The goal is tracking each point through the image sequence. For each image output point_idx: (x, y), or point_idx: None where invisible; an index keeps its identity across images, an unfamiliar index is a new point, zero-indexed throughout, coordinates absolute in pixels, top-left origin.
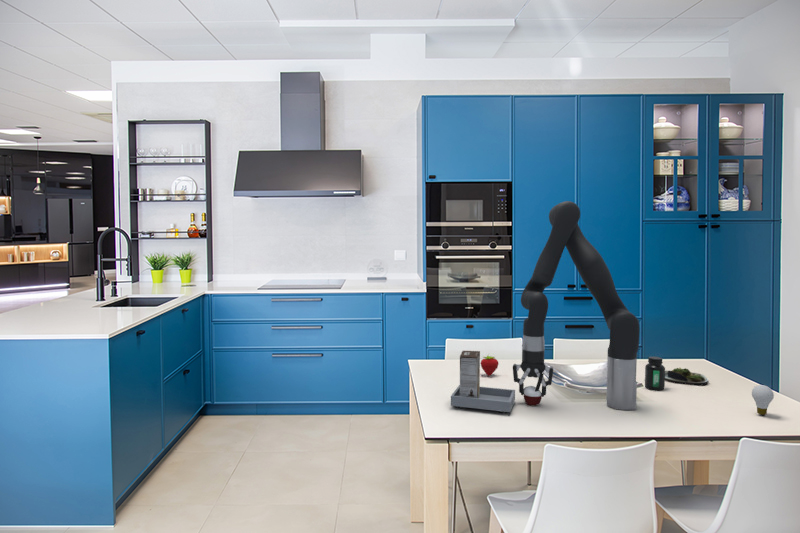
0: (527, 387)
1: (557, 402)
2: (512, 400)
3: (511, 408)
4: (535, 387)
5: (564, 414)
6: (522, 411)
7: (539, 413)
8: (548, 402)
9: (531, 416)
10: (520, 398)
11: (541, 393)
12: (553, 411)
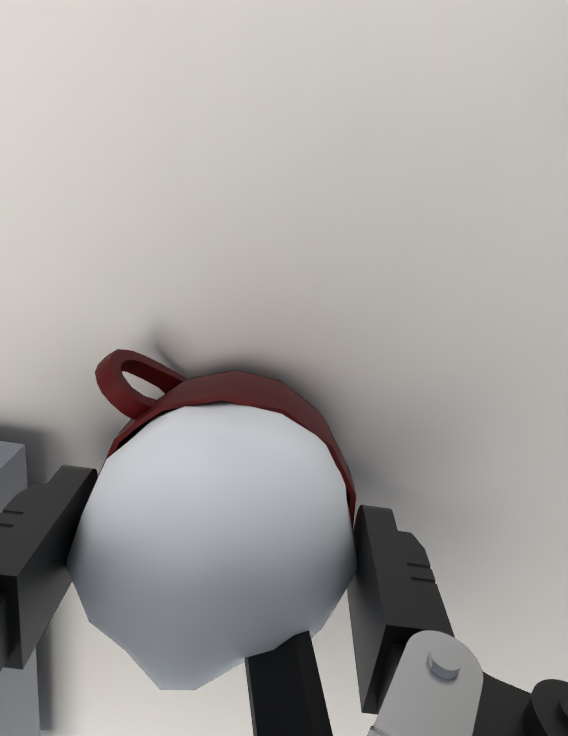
0: (118, 640)
1: (557, 332)
2: (2, 717)
3: (36, 715)
4: (256, 602)
5: (519, 656)
6: None
7: None
8: (440, 352)
9: (224, 724)
10: (90, 255)
11: (348, 581)
12: None
